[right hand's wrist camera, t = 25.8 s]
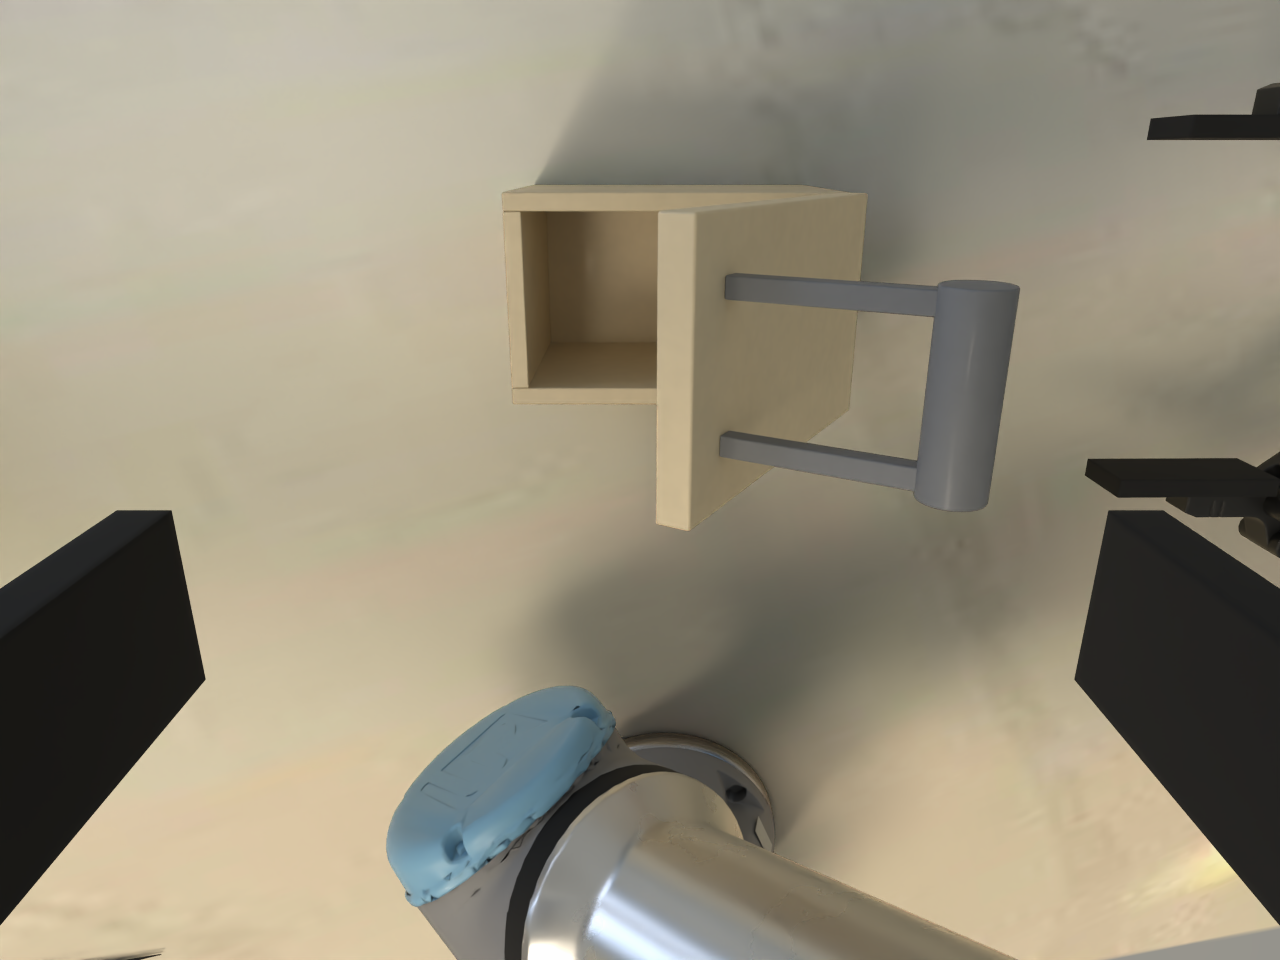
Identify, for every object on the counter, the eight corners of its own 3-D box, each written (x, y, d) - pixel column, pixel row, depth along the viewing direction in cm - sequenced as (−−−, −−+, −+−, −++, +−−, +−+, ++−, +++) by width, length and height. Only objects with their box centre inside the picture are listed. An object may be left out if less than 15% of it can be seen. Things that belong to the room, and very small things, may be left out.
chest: (539, 352, 50) (512, 404, 39) (532, 184, 47) (501, 192, 36) (793, 353, 50) (833, 404, 39) (803, 184, 47) (850, 192, 36)
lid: (654, 525, 26) (962, 594, 22) (656, 210, 23) (1016, 222, 19) (823, 406, 39) (1040, 437, 35) (839, 192, 36) (1080, 196, 32)
